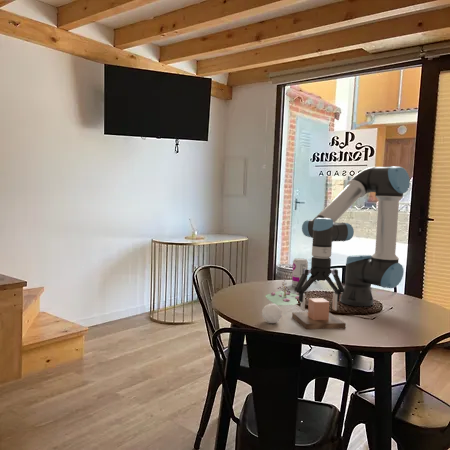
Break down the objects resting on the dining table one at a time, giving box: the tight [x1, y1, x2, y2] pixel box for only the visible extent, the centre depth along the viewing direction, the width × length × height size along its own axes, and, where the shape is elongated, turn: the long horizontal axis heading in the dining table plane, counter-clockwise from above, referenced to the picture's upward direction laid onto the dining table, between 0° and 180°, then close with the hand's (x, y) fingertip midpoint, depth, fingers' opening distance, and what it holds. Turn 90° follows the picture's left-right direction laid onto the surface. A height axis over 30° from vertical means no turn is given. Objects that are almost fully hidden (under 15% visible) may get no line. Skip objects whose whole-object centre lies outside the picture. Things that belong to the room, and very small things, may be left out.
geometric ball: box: [261, 303, 283, 324], centre depth 175 cm, size 8×8×8 cm
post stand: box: [291, 311, 347, 330], centre depth 178 cm, size 16×16×8 cm
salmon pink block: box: [307, 297, 330, 320], centre depth 178 cm, size 6×6×7 cm
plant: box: [265, 280, 299, 306], centre depth 215 cm, size 25×21×9 cm
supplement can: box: [291, 257, 309, 288], centre depth 247 cm, size 8×8×15 cm
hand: (318, 309), depth 178 cm, fingers open, 13 cm apart
